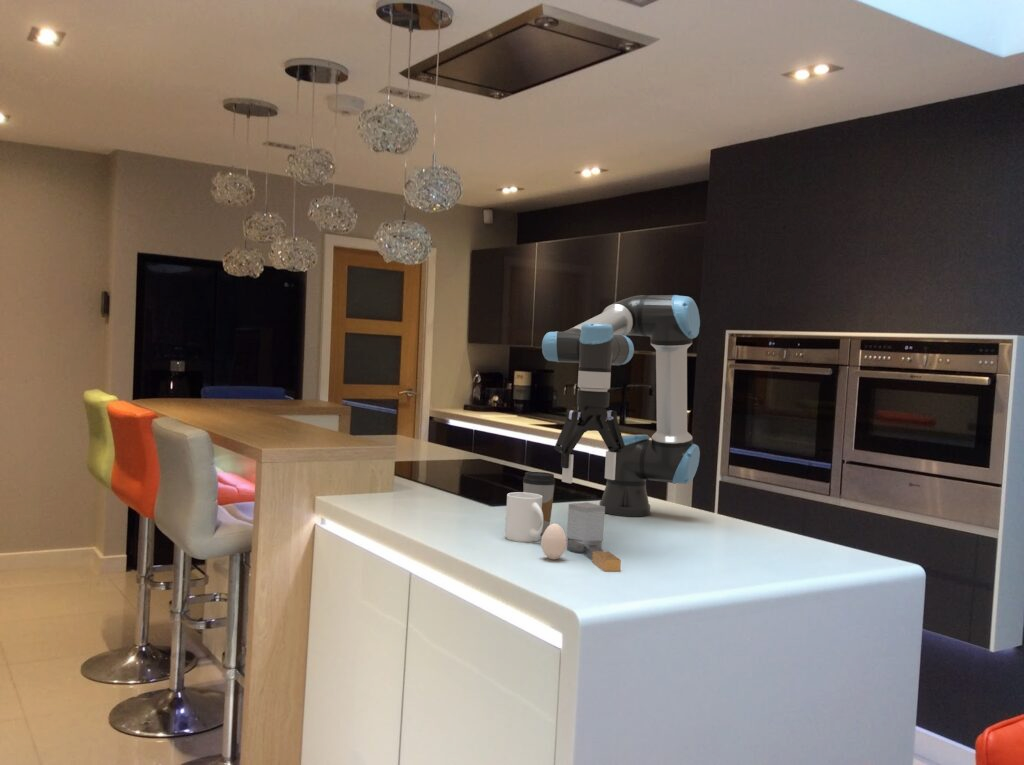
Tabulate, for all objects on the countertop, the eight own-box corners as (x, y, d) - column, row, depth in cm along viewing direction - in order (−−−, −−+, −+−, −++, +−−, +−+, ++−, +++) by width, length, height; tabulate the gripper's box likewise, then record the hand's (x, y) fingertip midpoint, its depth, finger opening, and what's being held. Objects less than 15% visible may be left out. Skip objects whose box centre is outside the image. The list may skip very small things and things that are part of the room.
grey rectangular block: (585, 535, 203) (587, 502, 203) (603, 540, 199) (605, 506, 198) (566, 537, 200) (568, 503, 199) (584, 542, 195) (586, 508, 195)
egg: (557, 563, 184) (560, 527, 184) (536, 559, 187) (538, 523, 187) (569, 559, 189) (572, 523, 189) (548, 555, 192) (550, 520, 191)
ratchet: (594, 546, 204) (596, 519, 204) (630, 571, 181) (632, 540, 181) (562, 546, 202) (564, 518, 202) (594, 571, 179) (596, 540, 179)
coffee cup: (549, 537, 211) (553, 477, 211) (516, 534, 213) (520, 474, 212) (554, 531, 219) (558, 473, 219) (522, 528, 221) (526, 470, 221)
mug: (526, 546, 199) (529, 501, 199) (497, 536, 209) (500, 493, 209) (555, 544, 204) (558, 499, 204) (526, 534, 214) (528, 491, 213)
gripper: (620, 389, 209) (615, 475, 210) (542, 388, 193) (537, 481, 194) (642, 391, 203) (637, 480, 204) (564, 390, 187) (559, 486, 188)
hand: (588, 480), depth 199 cm, fingers open, 13 cm apart
